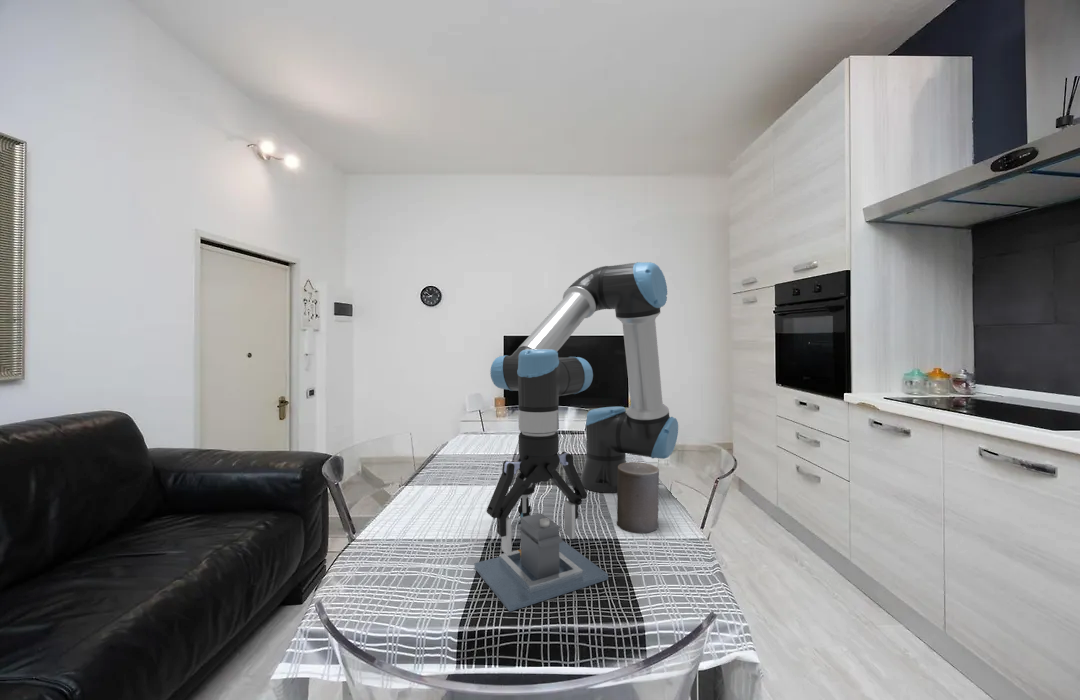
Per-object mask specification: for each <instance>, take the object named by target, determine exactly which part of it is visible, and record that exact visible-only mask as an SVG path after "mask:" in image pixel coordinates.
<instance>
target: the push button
mask: <svg viewBox="0 0 1080 700" xmlns="http://www.w3.org/2000/svg"><path fill="white" fill-rule="evenodd" d="M525 479H526V478H524V480H525ZM535 489H536V484H534V483H531V485H530V486H529V487H528V488H526V489H525V491H524V492H523V494H522V496H521V497H520V504H519V506H518V507H517V508H518V509H517V510H518V513H519V514H518V523H519V522H520V518H521V517H525V516H530V515H531V512H532V507H531V505H529V504H530V502H529V500H530V499H529V496H530V495H532V494H534V493H535Z"/></svg>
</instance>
